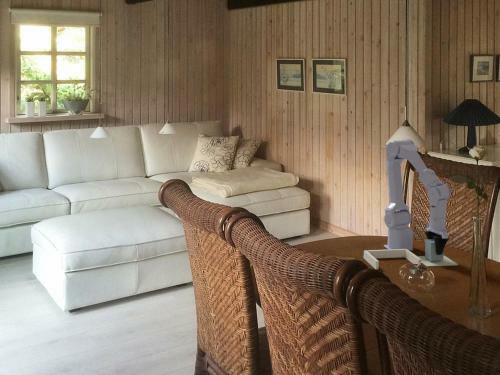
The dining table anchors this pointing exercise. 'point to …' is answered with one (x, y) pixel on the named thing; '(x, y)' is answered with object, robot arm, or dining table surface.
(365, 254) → the grey u-shaped bracket
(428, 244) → the block
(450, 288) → the dining table surface
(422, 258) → the mat
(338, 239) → the dining table surface
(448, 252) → the dining table surface
